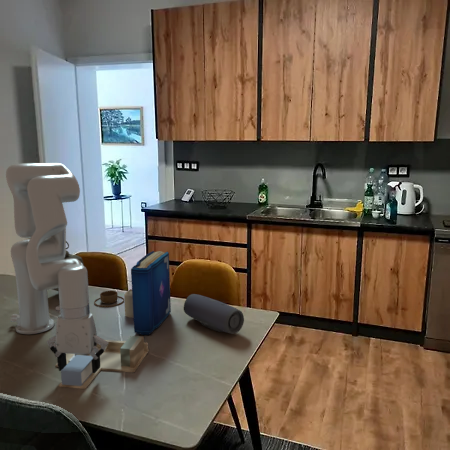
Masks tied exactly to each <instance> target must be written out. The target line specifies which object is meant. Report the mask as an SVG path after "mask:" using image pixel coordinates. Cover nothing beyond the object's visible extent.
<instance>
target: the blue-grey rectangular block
mask: <svg viewBox="0 0 450 450" xmlns="http://www.w3.org/2000/svg"><path fill="white" fill-rule="evenodd" d="M92 359H93V357H92V356H84V355H76V356H75V357H74V358H73V359H72V360H71V361H70V362H69V363H68V364H67V365H66V366H65V367H64V368H63V369H62V370H61V371H60V376H61V382H62V385H74V386H82V385H83V383H84V382H85V381H86V380H87V379H88V377H89V376H90V375H91V374H92Z"/></svg>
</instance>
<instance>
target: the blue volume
mask: <svg viewBox="0 0 450 450" xmlns="http://www.w3.org/2000/svg"><path fill="white" fill-rule="evenodd" d="M130 276H131V279H130V280H131V289H132V299H133V317H134V318H133V333H135V334H138V335H143V336H144V335H151V334H152V333H153V332H154V331H155V330H157V329H158V328H159V327H160V326H161V325H162V324H163V322H164V321H165V320H166V319H167V318H168V316H169V315H170V314H171V311H172V309H171V283H170V282H171V280H170V277H171V276H170V252H168V251H166V252H164V251H160V250H159V251H154V250H152V251H150V252H149V253H147V254H145V255H143V257H142V258H140V259H139V260H138V261H137V262H136V263H135V265H133V266H132V267H131V268H130Z"/></svg>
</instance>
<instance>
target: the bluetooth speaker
mask: <svg viewBox="0 0 450 450" xmlns="http://www.w3.org/2000/svg"><path fill="white" fill-rule="evenodd" d="M183 311H184V313H185V315H187V316H188V317H190V318H191V319H194V320H195V321H198V322H199V323H201V325H202V326H204V327H206V328H208V329H211V330H212V331H215V332H218V333H222V332H224V333H228V334H230V335H234V334H237V333H238V332H240V331H241V330H242V328H243V327H244V322H245V317H244V313H243V312H242V310H240V309H238V308H237V307H234V306H232V305H229V304H227V303H225V302H222V301H219V300H217V299H213V298H210V297H208V296H205V295H201V294H198V293H197V294H196V293H191V294H189V295H188V296H187V298H186V299H185V301H184V304H183Z"/></svg>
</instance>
